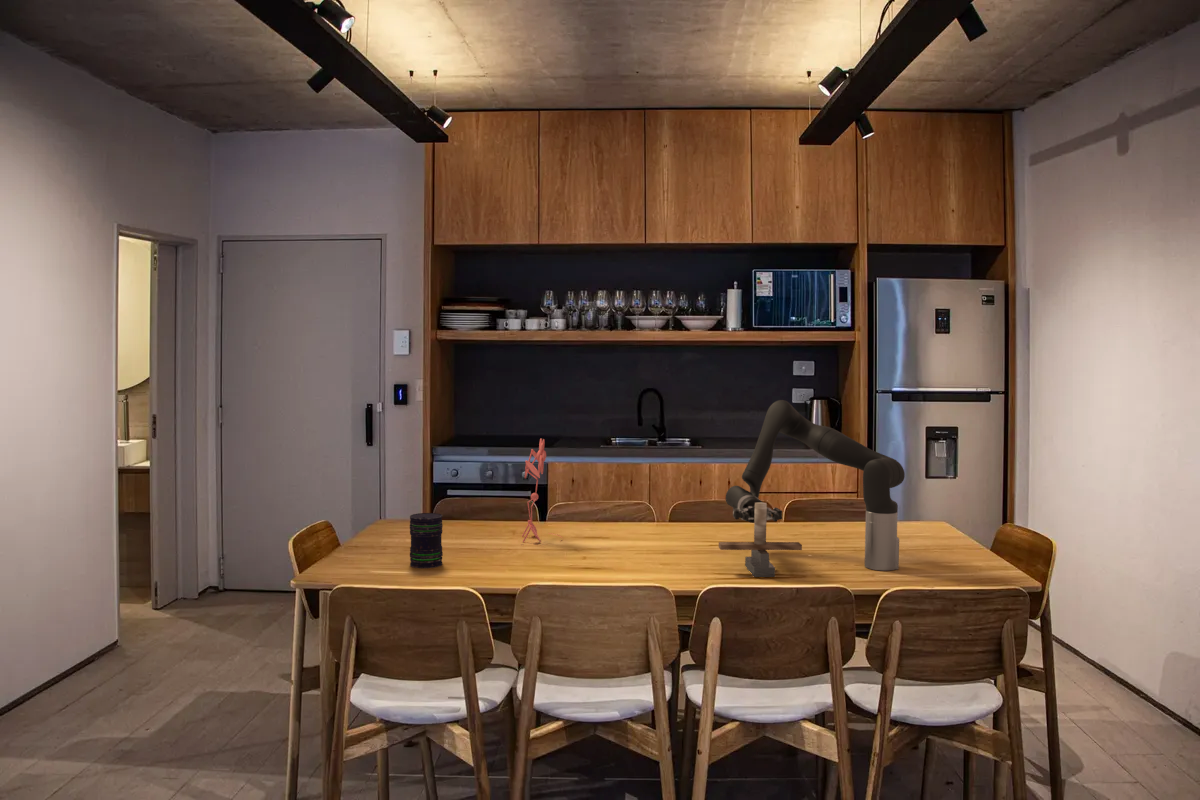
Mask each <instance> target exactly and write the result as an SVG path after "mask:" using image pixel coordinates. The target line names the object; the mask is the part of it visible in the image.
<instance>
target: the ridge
mask: <svg viewBox="0 0 1200 800" xmlns="http://www.w3.org/2000/svg"><path fill="white" fill-rule="evenodd" d="M750 553H751V556H744V557H745V561H744V562H745V564H744V567H745V566H746V567H747V568H746V567H745V568H746V570H748V572H749V571H750V572H751V573H752V574H751V573H750V572H749V573H750V574H751V576H752V577H753V576H754V577H775V578H776V567H775V566H774V565H773V563H771V562H770V553H769V552H768V550H751V552H750ZM754 577H753V578H754Z"/></svg>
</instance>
